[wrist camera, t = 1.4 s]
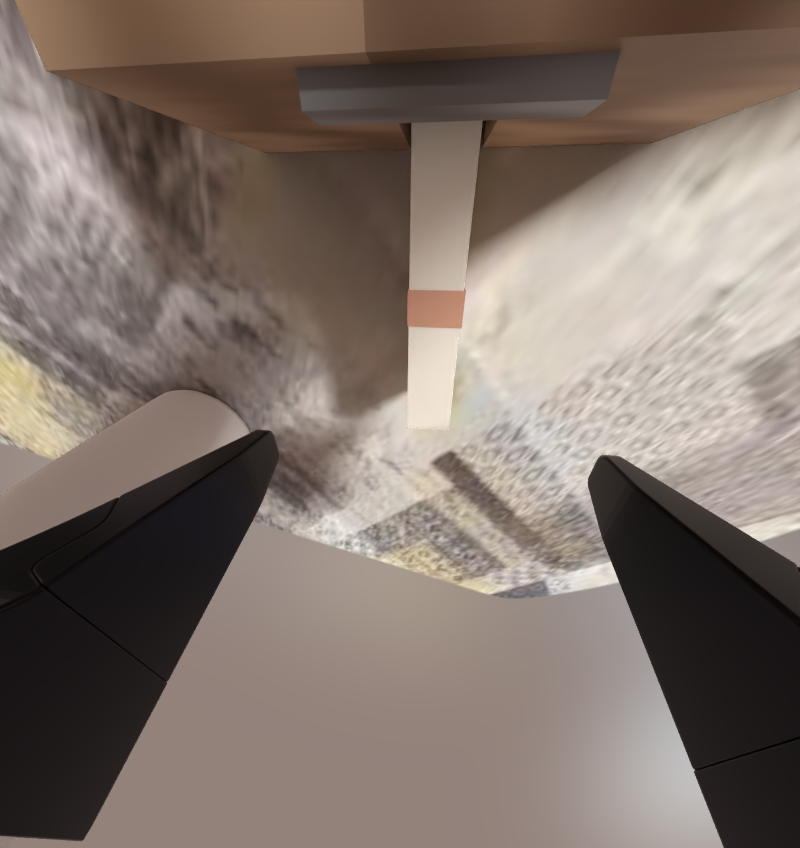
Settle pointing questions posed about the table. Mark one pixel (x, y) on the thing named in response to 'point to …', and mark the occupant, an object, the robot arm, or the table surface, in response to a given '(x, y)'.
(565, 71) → the brown cardboard box
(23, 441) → the table surface
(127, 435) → the milk bottle
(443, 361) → the white banded bar
